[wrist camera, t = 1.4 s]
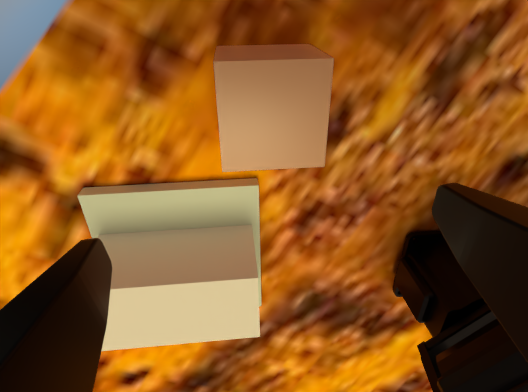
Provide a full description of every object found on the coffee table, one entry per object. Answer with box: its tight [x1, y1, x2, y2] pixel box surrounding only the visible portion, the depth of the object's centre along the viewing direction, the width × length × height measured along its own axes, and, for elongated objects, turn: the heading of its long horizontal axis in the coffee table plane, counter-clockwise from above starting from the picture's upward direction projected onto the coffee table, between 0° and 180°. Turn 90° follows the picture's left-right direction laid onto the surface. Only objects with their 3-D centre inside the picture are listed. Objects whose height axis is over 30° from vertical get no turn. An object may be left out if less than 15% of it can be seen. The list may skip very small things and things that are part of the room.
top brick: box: [213, 44, 334, 172], centre depth 17 cm, size 5×5×5 cm
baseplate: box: [78, 178, 261, 306], centre depth 24 cm, size 11×11×1 cm
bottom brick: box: [98, 225, 260, 351], centre depth 22 cm, size 10×5×5 cm, turn 91°
